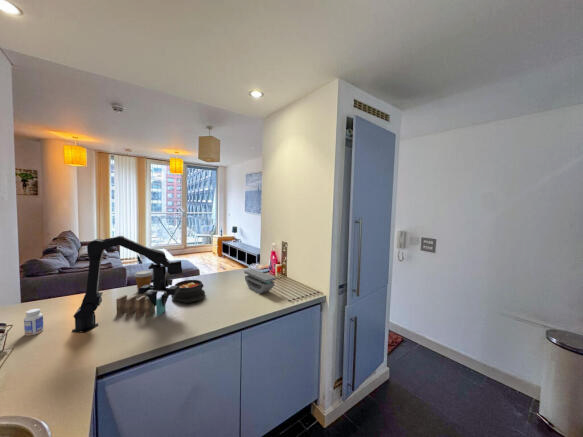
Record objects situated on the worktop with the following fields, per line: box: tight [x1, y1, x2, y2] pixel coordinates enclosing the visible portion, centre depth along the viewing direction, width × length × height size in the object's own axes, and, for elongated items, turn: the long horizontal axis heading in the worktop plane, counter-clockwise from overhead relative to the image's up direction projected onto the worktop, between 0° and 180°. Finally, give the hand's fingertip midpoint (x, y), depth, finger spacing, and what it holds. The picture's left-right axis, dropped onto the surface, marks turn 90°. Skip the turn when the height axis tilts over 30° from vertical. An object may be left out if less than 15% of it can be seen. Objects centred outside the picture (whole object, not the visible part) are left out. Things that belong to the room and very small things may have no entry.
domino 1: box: [115, 294, 128, 315], centre depth 118 cm, size 5×2×8 cm, turn 177°
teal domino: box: [155, 296, 166, 316], centre depth 119 cm, size 5×2×8 cm, turn 177°
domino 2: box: [125, 294, 137, 316], centre depth 118 cm, size 5×2×8 cm, turn 177°
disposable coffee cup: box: [134, 269, 153, 291], centre depth 147 cm, size 10×10×12 cm
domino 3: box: [135, 295, 147, 316], centre depth 118 cm, size 5×2×8 cm, turn 177°
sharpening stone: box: [243, 268, 276, 295], centre depth 153 cm, size 25×8×11 cm, turn 43°
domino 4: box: [144, 297, 156, 317], centre depth 118 cm, size 5×2×8 cm, turn 177°
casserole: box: [170, 279, 206, 304], centre depth 139 cm, size 25×19×8 cm
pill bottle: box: [23, 308, 44, 337], centre depth 98 cm, size 5×5×10 cm
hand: (159, 306), depth 117 cm, fingers open, 4 cm apart
